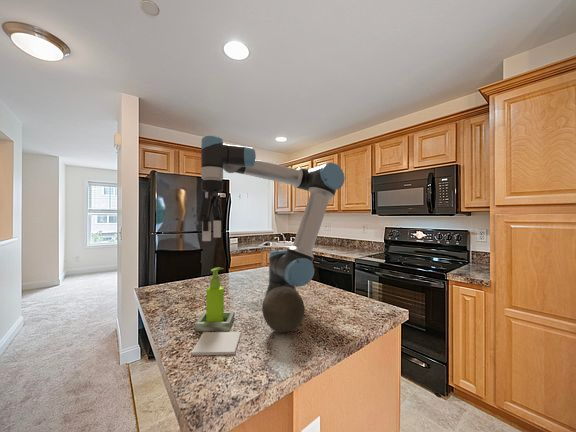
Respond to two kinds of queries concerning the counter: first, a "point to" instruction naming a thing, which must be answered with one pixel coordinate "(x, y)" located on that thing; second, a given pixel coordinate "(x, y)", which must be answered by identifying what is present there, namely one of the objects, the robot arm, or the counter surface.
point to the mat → (217, 343)
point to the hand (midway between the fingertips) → (212, 239)
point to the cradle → (214, 323)
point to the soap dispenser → (215, 299)
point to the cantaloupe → (283, 309)
